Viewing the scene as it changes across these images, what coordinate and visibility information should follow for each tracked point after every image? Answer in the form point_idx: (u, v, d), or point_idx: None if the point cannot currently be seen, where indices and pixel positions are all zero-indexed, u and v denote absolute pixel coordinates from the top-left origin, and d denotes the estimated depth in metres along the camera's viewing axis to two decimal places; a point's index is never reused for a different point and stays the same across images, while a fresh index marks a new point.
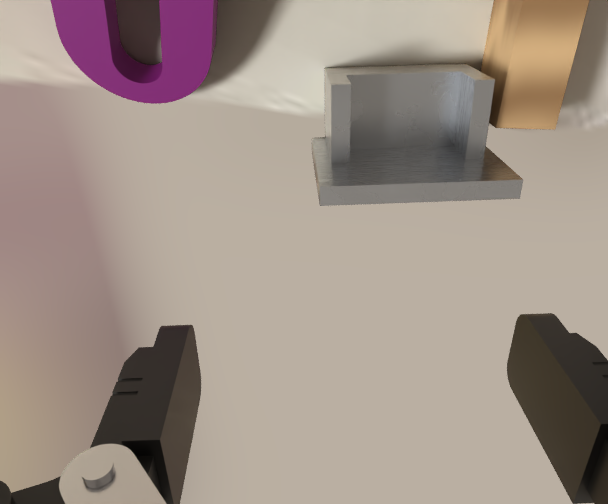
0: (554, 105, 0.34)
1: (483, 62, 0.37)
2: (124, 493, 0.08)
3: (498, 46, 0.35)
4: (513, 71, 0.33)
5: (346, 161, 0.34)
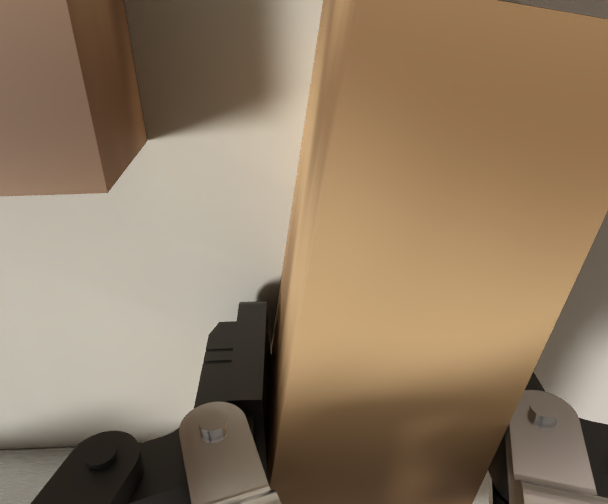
0: None
1: None
2: (241, 443, 0.09)
3: None
4: None
5: None
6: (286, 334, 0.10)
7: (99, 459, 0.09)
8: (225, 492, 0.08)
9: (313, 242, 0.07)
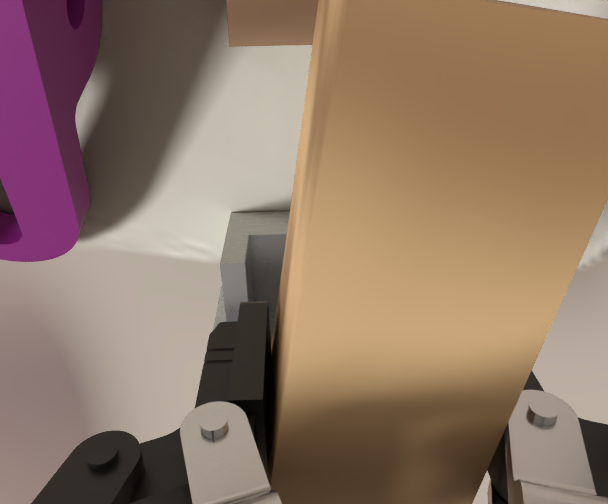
0: None
1: None
2: (242, 443, 0.09)
3: None
4: None
5: None
6: (285, 335, 0.10)
7: (100, 459, 0.09)
8: (226, 492, 0.08)
9: (309, 244, 0.07)
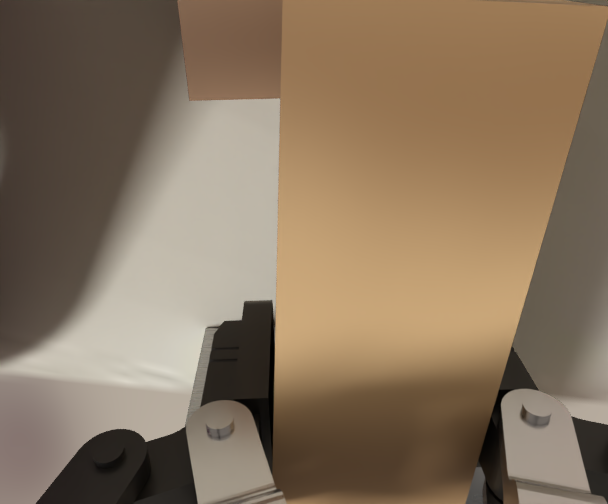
0: None
1: None
2: (248, 441, 0.09)
3: None
4: None
5: None
6: None
7: (107, 457, 0.09)
8: (231, 490, 0.08)
9: (277, 242, 0.08)
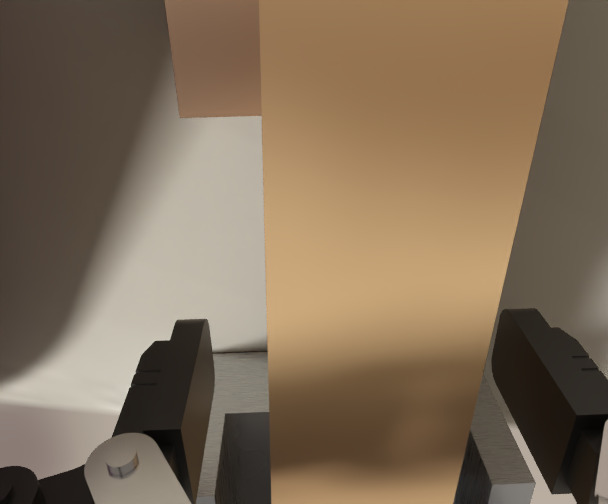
0: None
1: None
2: (148, 480, 0.08)
3: None
4: None
5: None
6: None
7: None
8: None
9: None
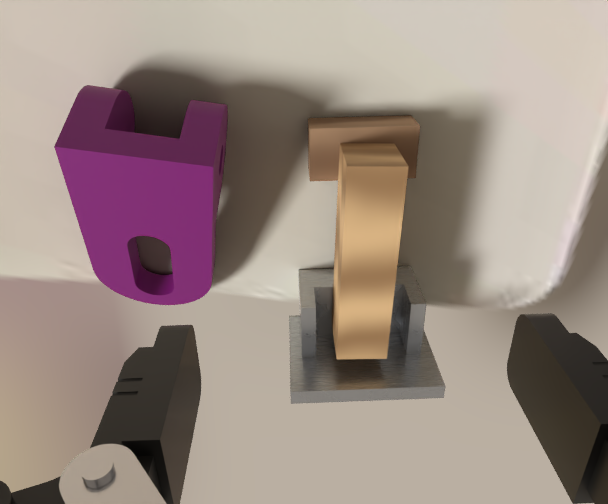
0: (382, 343, 0.41)
1: (333, 292, 0.44)
2: (124, 493, 0.08)
3: (336, 293, 0.41)
4: (343, 322, 0.40)
5: (313, 356, 0.44)
6: (340, 240, 0.38)
7: None
8: None
9: (344, 213, 0.36)
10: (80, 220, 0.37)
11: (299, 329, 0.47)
